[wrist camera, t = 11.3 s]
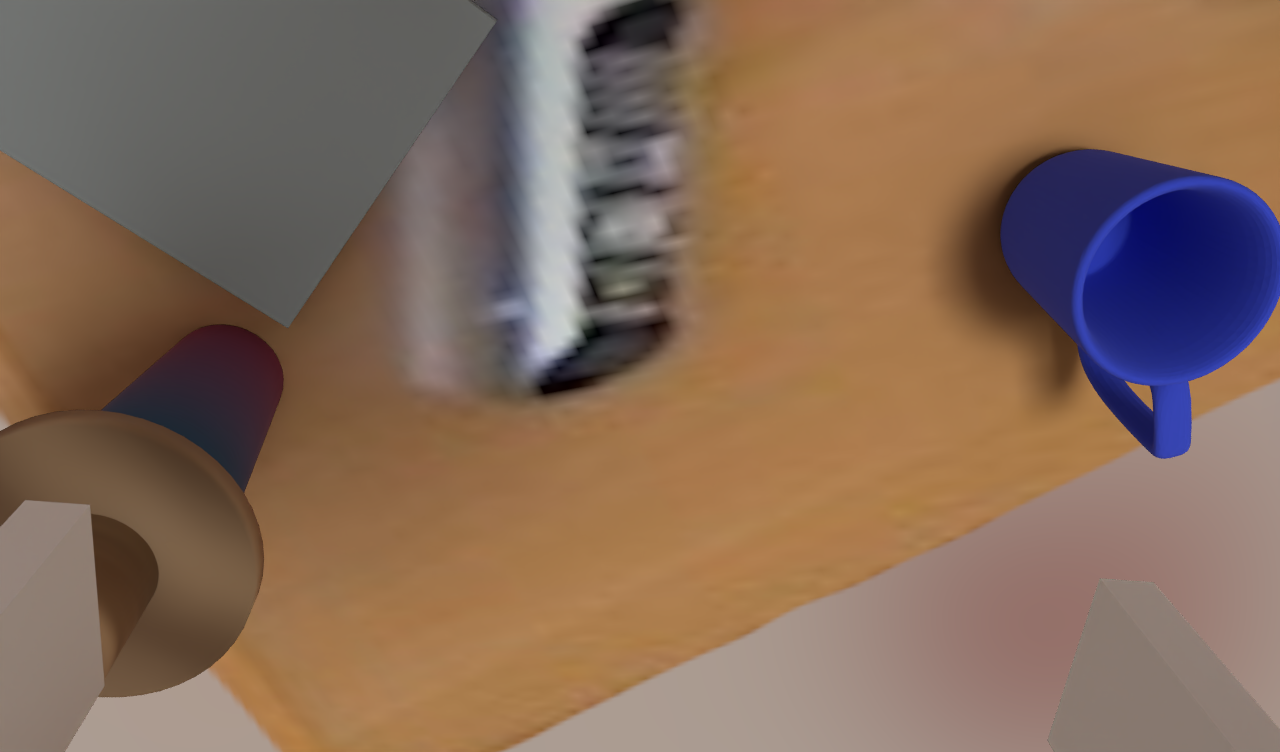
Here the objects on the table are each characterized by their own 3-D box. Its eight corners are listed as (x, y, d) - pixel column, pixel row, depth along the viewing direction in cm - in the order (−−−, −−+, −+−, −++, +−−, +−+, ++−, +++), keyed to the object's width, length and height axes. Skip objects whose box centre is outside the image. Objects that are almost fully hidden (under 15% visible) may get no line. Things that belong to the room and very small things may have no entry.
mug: (994, 396, 54) (1087, 494, 44) (967, 153, 49) (1065, 207, 40) (1160, 356, 54) (1288, 446, 44) (1149, 109, 49) (1289, 153, 40)
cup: (242, 277, 49) (122, 419, 35) (334, 399, 51) (256, 577, 37) (116, 352, 49) (-51, 520, 35) (212, 469, 52) (91, 667, 38)
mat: (134, -254, 41) (125, -258, 40) (497, 19, 45) (496, 21, 44) (-58, 103, 45) (-71, 106, 44) (292, 320, 49) (287, 328, 48)
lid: (32, 350, 34) (-140, 495, 25) (321, 515, 36) (254, 694, 28) (-110, 583, 36) (-310, 785, 28) (170, 720, 39) (67, 942, 31)
